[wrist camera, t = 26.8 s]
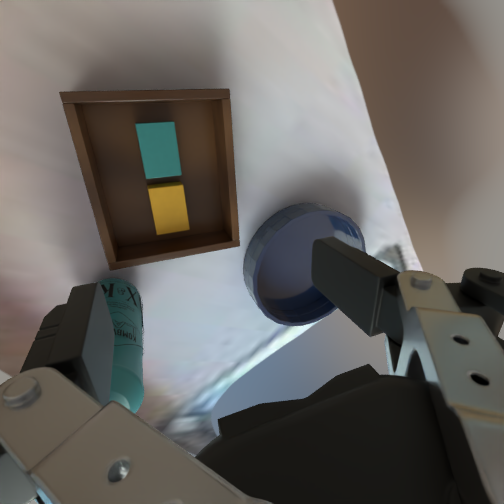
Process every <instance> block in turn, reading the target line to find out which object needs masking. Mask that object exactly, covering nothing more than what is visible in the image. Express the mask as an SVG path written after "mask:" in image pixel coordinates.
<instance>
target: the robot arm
mask: <svg viewBox="0 0 504 504" xmlns="http://www.w3.org/2000/svg"><path fill="white" fill-rule="evenodd" d="M311 278H312V282H313V284H314V286H315V287H316V288H317V289H318V290H319V291H320V292H321V293H322V294H323V295H324V296H325V297H327V298H328V299H329V300H330V301H331V302H332V303H333V304H334V305H335V306H336V307H338V308H339V309H340V310H341V311H342V312H343V313H344V314H345V315H346V316H347V317H348V318H350V319H351V320H352V321H353V322H354V323H355V324H356V325H358V327H359V328H361V329H362V330H363V331H364V332H365V333H366V334H367V335H368V336H369V337H371V336H375V335H378V334H380V333H385V334H386V337H385V349H386V356H387V362H388V368H389V375H379V374H378V373H377V372H376V371H375V369H374V368H372V366H371V365H369V364H367V365H364V366H361V367H359V368H356V369H353V370H351V371H348V372H345V373H342V374H340V375H337V376H335V377H334V378H333V379H331V380H330V381H329V382H327V383H326V384H325V385H323V386H322V387H321V388H319V389H318V390H316V391H315V392H314V393H312V394H311V395H310V396H308V397H306V398H304V399H297V400H288V401H280V402H271V403H262V404H258V405H255V406H252V407H250V408H247V409H244V410H242V411H239V412H236V413H233V414H231V415H228V416H225V417H223V418H220V419H218V426H219V433H220V435H219V436H218V437H216V438H215V439H213V440H212V441H211V442H210V443H209V444H208V445H207V446H205V447H204V448H203V449H202V450H201V451H200V452H199V453H198V455H197V456H196V457H193V456H192V455H191V454H189V453H188V452H187V451H185V450H184V449H182V448H181V447H180V446H178V445H177V444H176V443H174V442H173V441H171V440H170V439H169V438H167V437H166V436H165V435H163V434H162V433H160V432H159V431H158V430H156V429H155V428H154V427H152V426H151V425H149V424H148V423H147V422H145V421H144V420H143V419H141V418H140V417H139V416H137V415H136V414H134V413H133V412H132V411H130V410H129V409H128V408H126V407H125V406H123V405H122V404H121V403H119V402H117V401H114V400H111V401H110V402H109V398H110V386H111V374H112V362H113V350H114V328H113V323H112V319H111V316H110V312H109V309H108V306H107V303H106V299H105V296H104V293H103V290H102V287H101V284H100V283H99V282H95V283H90V284H85V285H80V286H75V287H73V288H72V290H71V293H70V296H69V299H68V301H67V304H62V305H58V306H56V307H55V308H54V309H53V310H52V311H50V312H49V313H48V314H47V315H46V316H45V317H44V319H43V322H42V324H41V326H40V328H39V329H40V331H38V333H37V335H36V337H35V341H34V342H33V344H32V346H31V349H30V351H29V353H28V355H27V358H26V360H25V362H24V364H23V367H22V369H21V371H20V373H19V374H18V375H16V376H14V377H12V378H10V379H8V380H7V381H6V382H4V383H2V384H1V385H0V504H28V503H29V502H31V501H32V500H34V499H35V501H36V502H37V503H38V504H504V340H502V339H500V338H499V337H498V334H499V332H500V329H501V327H502V324H503V322H504V273H502V272H499V271H495V270H491V269H486V268H470V269H467V270H465V271H464V274H463V277H462V281H461V283H445V282H444V281H443V280H442V279H441V278H439V277H437V276H435V275H433V274H430V273H427V272H422V271H414V270H411V271H403V272H401V273H400V272H398V271H397V270H395V269H393V268H391V267H390V266H388V265H386V264H384V263H383V262H381V261H379V260H376V258H374V257H372V256H370V255H368V254H367V253H365V252H363V251H361V250H360V249H358V248H354V247H351V246H349V245H348V244H346V243H344V242H343V241H341V240H339V239H337V238H336V237H334V236H331V237H325V238H320V239H316V240H314V242H313V245H312V263H311Z"/></svg>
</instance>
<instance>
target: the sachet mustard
mask: <svg viewBox="0 0 504 504" xmlns="http://www.w3.org/2000/svg"><path fill="white" fill-rule="evenodd" d="M147 187H148V192H149V197H150V202H151V208H152V213H153V218H154V223H155V228H156V233H157V235H161V234H167V233H173V232H179V231H185V230H189V222H188V215H187V208H186V201H185V194H184V187H183V184H182V183H181V182H180V181H179V182H170V183H162V184H153V185H147Z"/></svg>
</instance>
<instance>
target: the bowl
mask: <svg viewBox="0 0 504 504" xmlns="http://www.w3.org/2000/svg"><path fill="white" fill-rule="evenodd" d="M331 236H334V237H336V238H337V239H339V240H341V241H343V242H344V243H346V244H348V245H349V246H351V247H354V248H358V249H360V250H361V251H363V252H365V253H366V250H365V241H364V238H363V235H362V233H361V231H360V228H359V227H358V226H357V225H356V223H355V222H354V221H353V220H352V219H351V218H350V217H348V216H346V215H344V214H342V213H340V212H338V211H336V210H334V209H331V208H329V207H327V206H324V205H320V204H316V203H302V204H297V205H293V206H290V207H287V208H285V209H283V210H281V211H279V212H277V213H276V214H275V215H273V216H272V217H270V218H269V219H268V220H267V221H266V222H265V223H264V224H263V225H262V226H261V227H260V228H259V229H258V231H257V232H256V234H255V235H254V237H253V238H252V240H251V242H250V244H249V246H248V249H247V251H246V255H245V259H244V267H243V274H244V281H245V284H246V287H247V289H248V291H249V294H250V296H251V297H252V299H253V300H254V302H255V303H256V304H257V306H258V307H259V309H260V310H261V311H262V312H263V313H264V315H265V316H266V317H267V318H269V319H271V320H273V321H274V322H276V323H278V324H283V325H287V326H303V325H306V324H310V323H313V322H316V321H319V320H320V319H322V318H324V317H326V316H328V315H329V314H331V313H332V312H333V311H335V310H336V309H337V308H338V307H336V306H335V305H334V304H333V303H332V302H331V301H330V300H329V299H328V298H327V297H325V296H324V295H323V294H322V293H321V292H320V291H319V290H318V289H317V288H316V287H315V286H314V284H313V282H312V278H311V263H312V245H313V242H314V240H316V239H320V238H325V237H331Z"/></svg>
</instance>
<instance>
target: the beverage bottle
mask: <svg viewBox="0 0 504 504" xmlns="http://www.w3.org/2000/svg"><path fill="white" fill-rule="evenodd" d="M98 282H99V283H100V284H101V287H102V290H103V293H104V296H105V299H106V303H107V306H108V309H109V312H110V316H111V319H112V323H113V328H114V350H113V362H112V374H111V386H110V398H109V402H110V401H111V400H114V401H117V402H119V403H121V404H122V405H123V406H125V407H126V408H128V409H129V410H130V411H132V412H133V413H134V414H135V413H136V411H137V410H138V409H139V407H140V406H141V403H142V401H143V397H144V386H143V368H142V356H143V354H144V353H143V345H142V343H143V342H142V336H143V333H144V332H143V331H144V330H143V331H142V328H143V329H144V325H143V314H142V312H143V311H142V308H143V304H142V307H141V297H142V296H141V297H140V294H139V293H140V292H138V291H137V288H135V287H134V286H133V285H132V284H130V283H129V282H127V281H125V280H121V279H116V278H110V279H104V280H101V281H98ZM142 301H143V300H142ZM142 332H143V333H142ZM143 337H144V336H143ZM144 351H145V350H144Z"/></svg>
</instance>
